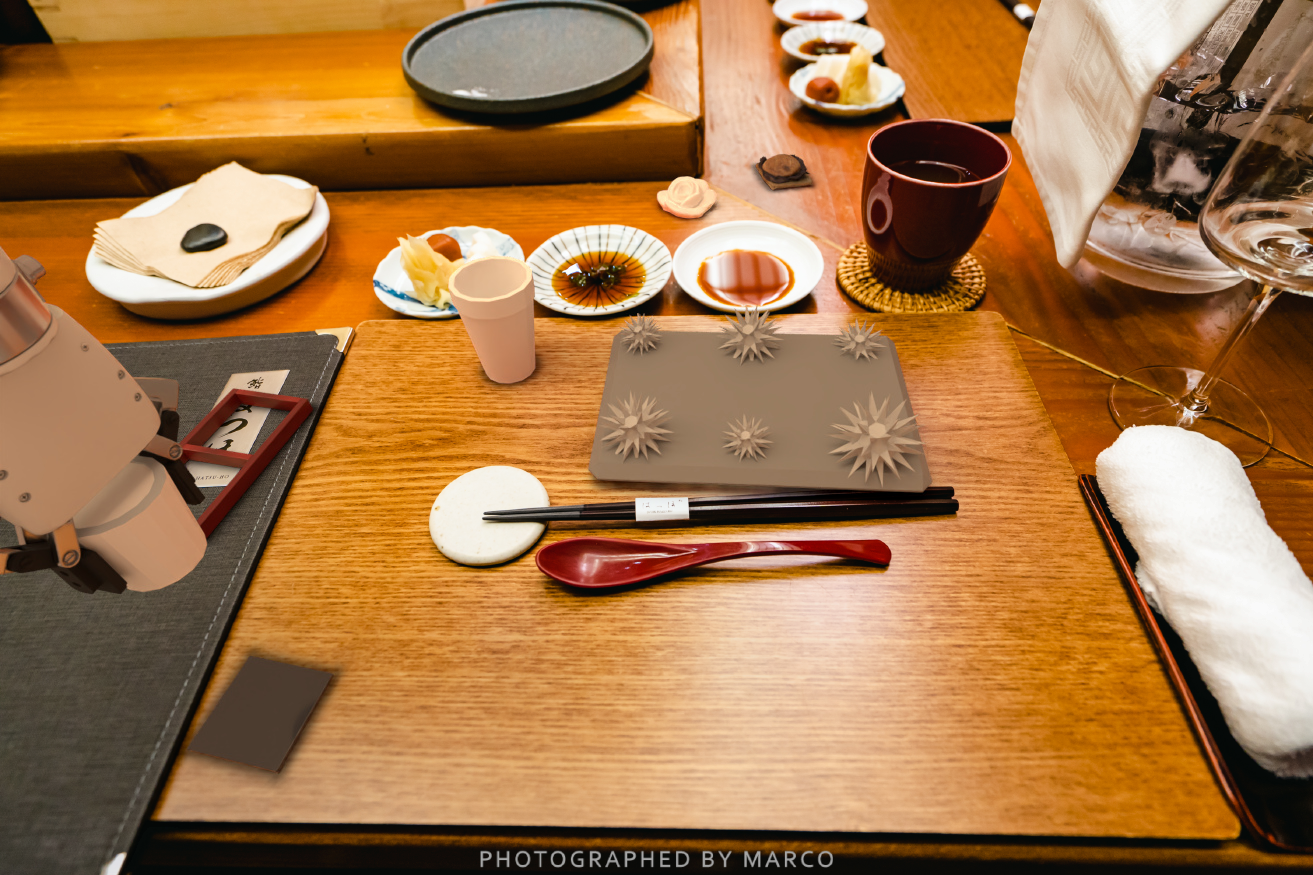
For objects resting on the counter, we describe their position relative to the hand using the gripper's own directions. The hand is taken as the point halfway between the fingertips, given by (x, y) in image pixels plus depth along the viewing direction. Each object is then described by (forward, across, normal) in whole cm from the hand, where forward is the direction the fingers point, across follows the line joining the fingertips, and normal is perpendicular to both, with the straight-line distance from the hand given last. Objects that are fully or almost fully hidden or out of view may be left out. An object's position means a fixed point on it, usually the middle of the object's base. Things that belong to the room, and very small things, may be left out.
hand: (146, 539), depth 47 cm
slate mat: (+17, +4, +3) cm, 18 cm away
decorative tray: (+17, -38, +39) cm, 57 cm away
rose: (+16, -87, +22) cm, 92 cm away
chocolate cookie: (+16, -101, +38) cm, 109 cm away
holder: (+17, -20, -18) cm, 32 cm away
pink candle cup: (+2, 0, 0) cm, 2 cm away
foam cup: (+17, -42, +8) cm, 46 cm away
